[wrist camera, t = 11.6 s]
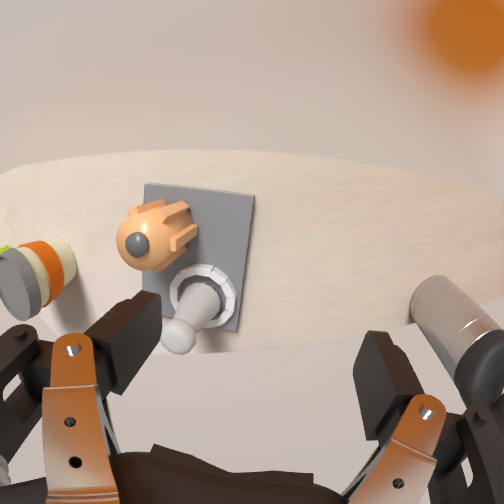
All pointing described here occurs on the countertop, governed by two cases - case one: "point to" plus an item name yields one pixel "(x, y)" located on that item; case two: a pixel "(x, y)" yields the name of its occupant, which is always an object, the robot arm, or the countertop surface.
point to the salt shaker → (190, 317)
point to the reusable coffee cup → (35, 276)
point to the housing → (190, 245)
